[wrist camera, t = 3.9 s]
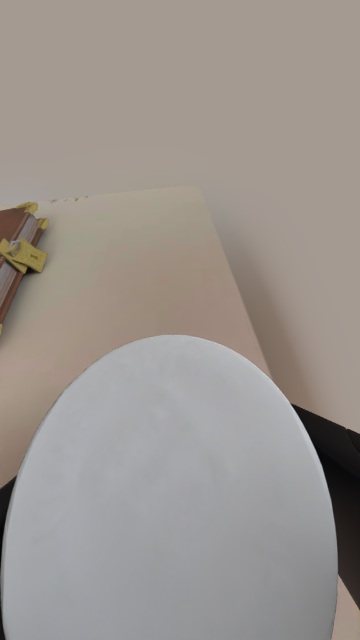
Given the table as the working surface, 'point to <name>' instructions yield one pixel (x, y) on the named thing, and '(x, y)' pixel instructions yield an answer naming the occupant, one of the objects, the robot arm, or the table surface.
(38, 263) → the book
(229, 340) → the table surface
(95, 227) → the table surface
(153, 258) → the table surface
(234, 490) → the pill bottle
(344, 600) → the table surface
